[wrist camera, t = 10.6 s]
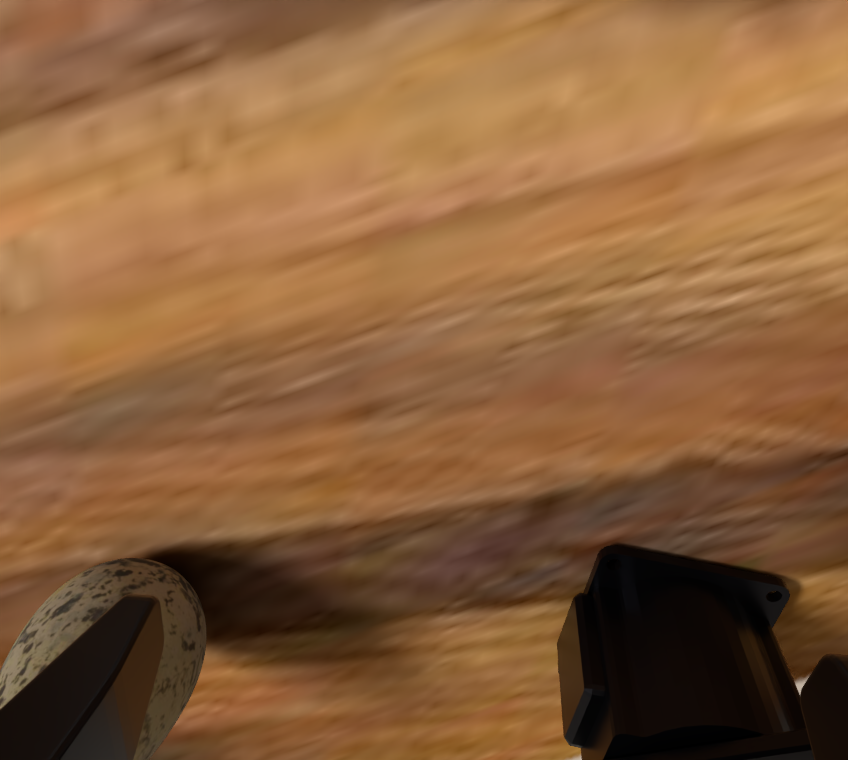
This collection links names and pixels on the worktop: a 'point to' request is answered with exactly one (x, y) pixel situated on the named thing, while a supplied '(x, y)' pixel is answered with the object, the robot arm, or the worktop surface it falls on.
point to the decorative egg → (86, 604)
